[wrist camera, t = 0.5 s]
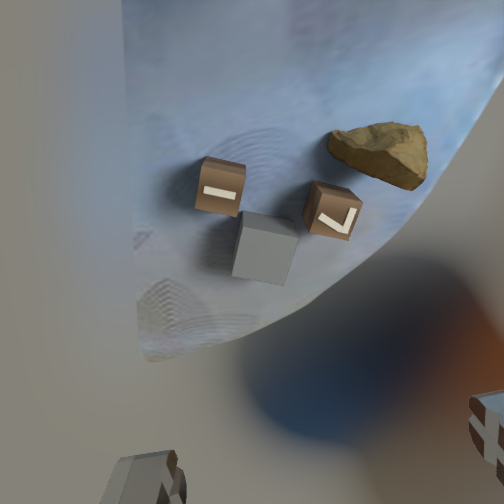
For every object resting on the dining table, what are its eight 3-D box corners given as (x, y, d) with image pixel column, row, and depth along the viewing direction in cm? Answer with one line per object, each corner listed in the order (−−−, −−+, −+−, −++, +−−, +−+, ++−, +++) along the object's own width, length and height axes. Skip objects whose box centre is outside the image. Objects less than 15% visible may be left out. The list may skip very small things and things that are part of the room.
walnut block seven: (312, 180, 44) (322, 193, 38) (348, 188, 44) (363, 202, 39) (301, 215, 46) (309, 233, 40) (336, 223, 46) (348, 241, 41)
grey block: (243, 210, 45) (243, 226, 40) (292, 220, 46) (299, 238, 41) (232, 255, 48) (231, 276, 43) (279, 264, 49) (283, 285, 44)
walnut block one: (206, 156, 42) (201, 166, 36) (245, 164, 43) (245, 176, 37) (200, 193, 44) (194, 209, 39) (237, 201, 45) (236, 217, 39)
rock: (309, 168, 41) (375, 211, 42) (344, 132, 32) (425, 187, 34) (343, 103, 43) (405, 145, 45) (384, 55, 35) (457, 108, 36)
